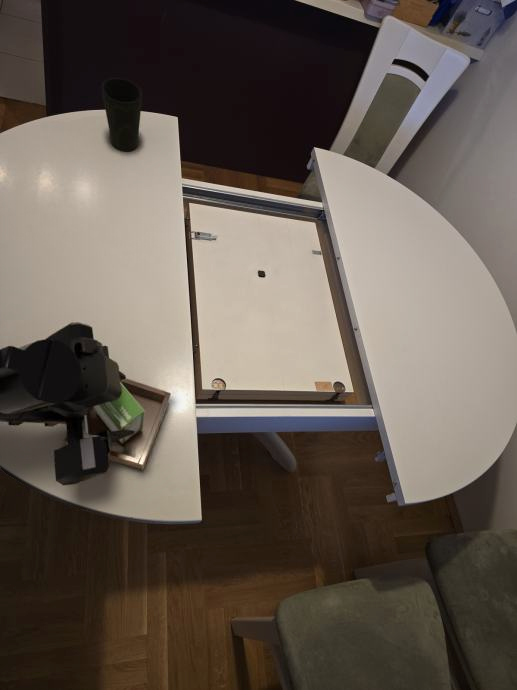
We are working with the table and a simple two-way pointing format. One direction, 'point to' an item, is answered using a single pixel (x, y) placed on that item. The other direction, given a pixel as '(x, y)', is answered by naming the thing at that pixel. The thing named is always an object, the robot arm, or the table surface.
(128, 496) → the table surface
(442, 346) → the table surface
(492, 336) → the table surface
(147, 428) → the holder
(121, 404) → the ink box
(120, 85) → the cup
